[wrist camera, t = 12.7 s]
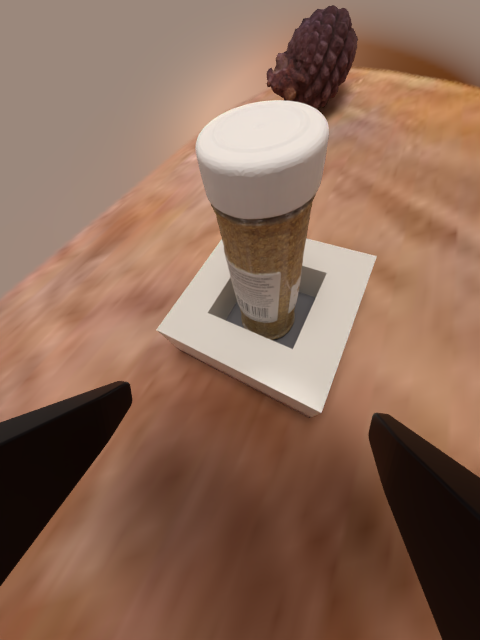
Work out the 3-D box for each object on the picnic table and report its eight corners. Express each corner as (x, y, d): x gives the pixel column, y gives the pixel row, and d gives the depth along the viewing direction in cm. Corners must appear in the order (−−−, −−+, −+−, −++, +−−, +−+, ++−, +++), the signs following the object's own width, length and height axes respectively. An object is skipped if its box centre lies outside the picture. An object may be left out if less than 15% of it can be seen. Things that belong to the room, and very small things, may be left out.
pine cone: (323, 81, 41) (337, -16, 32) (372, 91, 36) (404, -17, 28) (254, 124, 37) (247, 28, 28) (299, 141, 33) (309, 34, 24)
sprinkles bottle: (305, 318, 19) (365, 112, 7) (264, 353, 18) (251, 183, 6) (268, 286, 20) (264, 84, 9) (230, 316, 20) (167, 133, 8)
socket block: (356, 291, 20) (376, 256, 16) (309, 417, 16) (321, 412, 12) (241, 255, 24) (235, 220, 20) (179, 350, 20) (156, 329, 16)
